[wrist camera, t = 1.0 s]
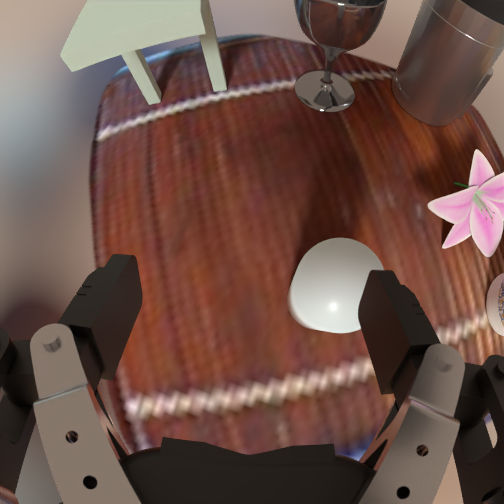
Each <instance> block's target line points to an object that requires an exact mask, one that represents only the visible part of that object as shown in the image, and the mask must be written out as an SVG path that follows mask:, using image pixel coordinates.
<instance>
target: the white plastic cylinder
mask: <svg viewBox="0 0 504 504" xmlns="http://www.w3.org/2000/svg"><path fill="white" fill-rule="evenodd" d="M371 270H384V268H383V266H382V264H381V262H380V260H379V259H378V257H377V256H376V255H375V253H374V252H373V251H372V250H371V249H369V248H368V247H367V246H365V245H364V244H362V243H360V242H358V241H355V240H353V239H348V238H332V239H328V240H325V241H322V242H320V243H318V244H317V245H315V246H314V247H312V248H311V249H310V250H309V251H308V252H307V253H306V254H305V255H304V257H303V258H302V260H301V261H300V263H299V265H298V268H297V270H296V273H295V275H294V278H293V280H292V283H291V285H290V288H289V291H288V295H287V305H288V309H289V312H290V314H291V316H292V317H293V318H294V320H295V321H296V322H298V323H299V324H300V325H302V326H304V327H306V328H310V329H315V330H321V331H327V332H333V333H349V332H353V331H356V330H359V329H361V326H360V323H359V320H358V307H359V303H360V300H361V297H362V294H363V290H364V287H365V284H366V281H367V278H368V275H369V272H370V271H371Z"/></svg>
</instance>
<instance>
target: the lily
mask: <svg viewBox="0 0 504 504" xmlns="http://www.w3.org/2000/svg"><path fill="white" fill-rule="evenodd" d="M454 184H455V185H458V186H462V187H465V188H467V189H465V190H462V191H460V192H457V193H454V194H451V195H447V196H444V197H441V198H438V199H435V200H433V201H431V202H429V203H428V204H427V205H428V208H429V209H430V210H431V211H432V212H433V213H435V214H436V215H438V216H439V217H441V218H443V219H445V220H446V221H448V222H451V223H454V226H453V228H452V229H451V231H450V233H449V235H448V236H447V238H446V240H445V242H444V244H443V246H442V248H448V247H451V246H453V245H456V244H458V243H460V242H462V241H463V240H465V239H467V238H468V237H469V236H471V235H472V238H473V239H474V241H475V243H476V245H477V246H478V248H479V249H480V250H481V252H482V253H483V254H484V255H485V256H486V257H491V256H492V255H493V254H494V252H495V250H496V248H497V246H498V244H499V242H500V239H501V236H502V232H503V221H504V172H503V173H501V174H499V175H497V176H495V174H494V172H493V169H492V167H491V166H490V164H489V162H488V161H487V159H486V158H485V157H484V155H483V154H482V153H481V152H480V151H479V150H477V149H476V150H475V152H474V156H473V161H472V167H471V173H470V179H469V186H467V185H464V184H461V183H457V182H454Z"/></svg>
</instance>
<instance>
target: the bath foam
mask: <svg viewBox="0 0 504 504" xmlns="http://www.w3.org/2000/svg"><path fill="white" fill-rule="evenodd" d="M486 309H487V316H488V319H489V322H490V324H491V326H492V328H493V329H494V330H495V331H496V332H497V333H498V334H500V335H502V336H504V273H502V274H500V275H498V276H497V277H496V278H495V279H494V281H493V282H492V284H491V286H490V288H489V291H488V294H487V301H486Z"/></svg>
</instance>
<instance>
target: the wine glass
mask: <svg viewBox="0 0 504 504" xmlns="http://www.w3.org/2000/svg"><path fill="white" fill-rule="evenodd" d="M386 3H387V0H294V6H295V11H296V15H297V19H298V22H299V25H300V27H301V29H302V31H303V32H304V33H305V35H306V36H307V37H308V38H309V39H310V40H311V41H313V42H314V43H315V44H316V45H317V46H318V47H320V48H321V50H322V51H323V53H324V57H325V69H313V70H309V71H306V72H304V73H303V74H301V75H300V76H299V77H298V78H297V80H296V82H295V87H294V88H295V92H296V95H297V96H298V98H299V99H300V100H301V101H302V102H303V103H304V104H305V105H307V106H309V107H310V108H313V109H315V110H318V111H322V112H339V111H342V110H344V109H347V108H348V107H349V106H351V104H352V103H353V101H354V99H355V90H354V87H353V86H352V84H351V83H350V81H349V80H348V79H347V78H345V77H344V76H343V75H341V74H339V73H337V72H334V71H332V70H333V67H334V64H335V61H336V59H337V57H338V56H339V55H340V54H342V53H344V52H347V51H350V50H353V49H356V48H358V47H360V46H362V45H363V44H365V43H366V42H367V41H368V40H369V39H370V38H371V36H372V35H373V33H374V32H375V30H376V28H377V27H378V24H379V23H380V20H381V19H382V16H383V13H384V10H385V7H386Z"/></svg>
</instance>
